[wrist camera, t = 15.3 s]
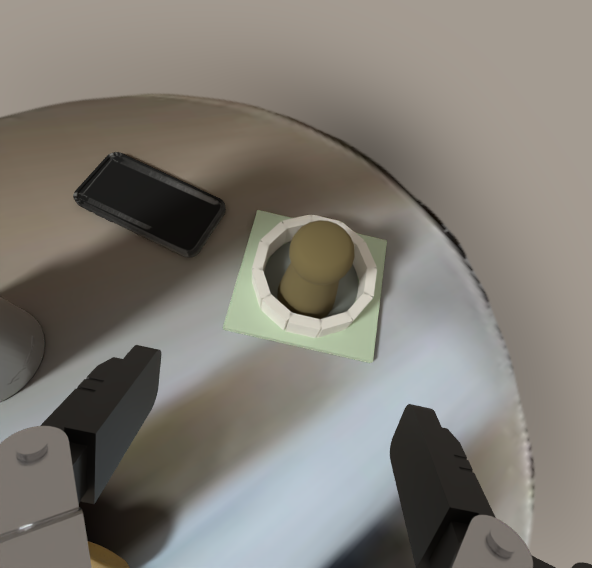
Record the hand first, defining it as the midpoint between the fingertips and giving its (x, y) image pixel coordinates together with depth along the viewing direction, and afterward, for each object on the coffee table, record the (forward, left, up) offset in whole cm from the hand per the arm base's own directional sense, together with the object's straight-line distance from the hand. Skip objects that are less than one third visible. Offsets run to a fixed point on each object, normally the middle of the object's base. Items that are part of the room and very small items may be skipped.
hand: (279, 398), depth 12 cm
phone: (-17, +20, -24) cm, 36 cm away
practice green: (+2, +15, -24) cm, 28 cm away
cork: (+2, +13, -23) cm, 26 cm away
